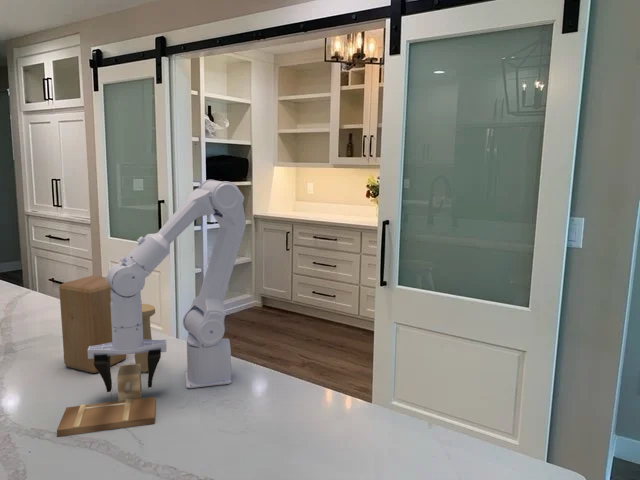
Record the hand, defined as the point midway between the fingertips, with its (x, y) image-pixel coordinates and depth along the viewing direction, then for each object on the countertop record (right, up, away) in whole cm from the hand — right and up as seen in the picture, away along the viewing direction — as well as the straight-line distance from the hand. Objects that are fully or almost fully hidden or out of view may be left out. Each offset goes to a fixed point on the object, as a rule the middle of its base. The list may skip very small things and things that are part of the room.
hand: (130, 387), depth 96 cm
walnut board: (-1, -3, -8) cm, 8 cm away
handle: (-2, 0, +13) cm, 13 cm away
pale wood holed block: (0, -2, -1) cm, 3 cm away
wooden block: (-14, +1, +16) cm, 22 cm away
